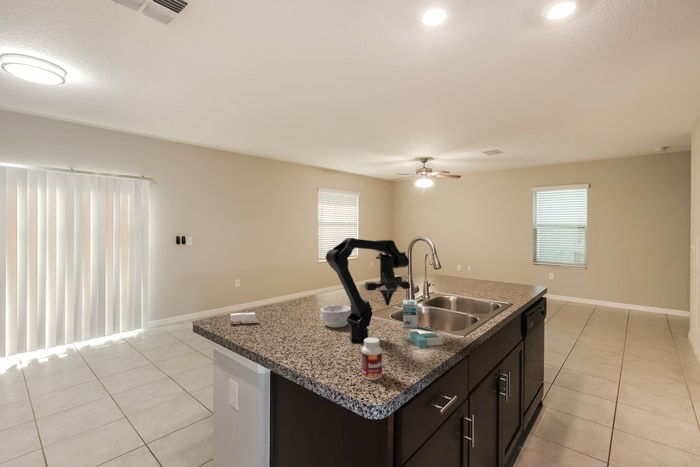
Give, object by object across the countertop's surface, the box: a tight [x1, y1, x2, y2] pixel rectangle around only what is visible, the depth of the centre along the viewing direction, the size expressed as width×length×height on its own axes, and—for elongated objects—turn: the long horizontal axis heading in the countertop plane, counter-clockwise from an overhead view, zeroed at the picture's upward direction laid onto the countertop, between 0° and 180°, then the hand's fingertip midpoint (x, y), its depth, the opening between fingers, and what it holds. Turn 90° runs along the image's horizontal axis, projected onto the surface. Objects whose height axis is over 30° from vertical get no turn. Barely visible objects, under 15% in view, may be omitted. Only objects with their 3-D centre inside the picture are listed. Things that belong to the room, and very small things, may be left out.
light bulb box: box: [402, 298, 419, 329], centre depth 149 cm, size 11×7×11 cm, turn 168°
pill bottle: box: [361, 337, 383, 381], centre depth 97 cm, size 6×6×11 cm
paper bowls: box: [320, 305, 351, 328], centre depth 150 cm, size 15×15×8 cm
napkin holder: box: [230, 312, 257, 322], centre depth 154 cm, size 15×11×6 cm
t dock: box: [421, 332, 444, 347], centre depth 125 cm, size 6×7×2 cm
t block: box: [409, 330, 435, 349], centre depth 125 cm, size 8×10×3 cm
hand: (387, 305), depth 137 cm, fingers closed
